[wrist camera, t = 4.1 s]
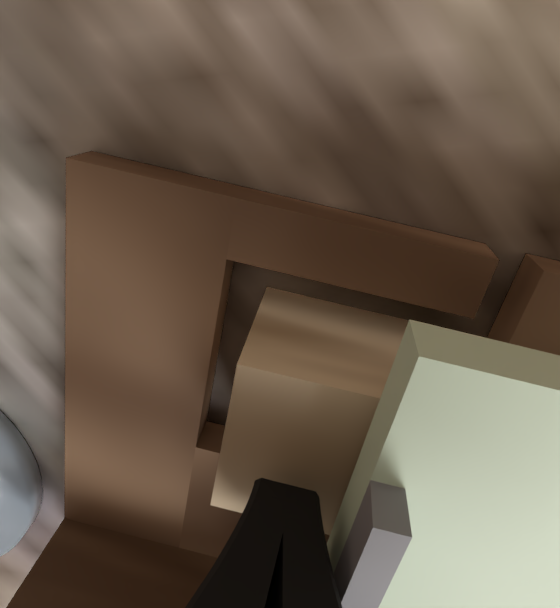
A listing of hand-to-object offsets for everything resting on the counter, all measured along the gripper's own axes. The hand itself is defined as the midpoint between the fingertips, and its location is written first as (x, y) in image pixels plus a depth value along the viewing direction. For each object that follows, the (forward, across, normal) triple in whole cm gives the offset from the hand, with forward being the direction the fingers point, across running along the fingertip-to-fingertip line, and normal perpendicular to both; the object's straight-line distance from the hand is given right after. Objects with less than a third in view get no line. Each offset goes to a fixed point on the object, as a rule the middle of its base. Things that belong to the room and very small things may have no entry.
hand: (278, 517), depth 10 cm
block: (+5, 0, -1) cm, 5 cm away
